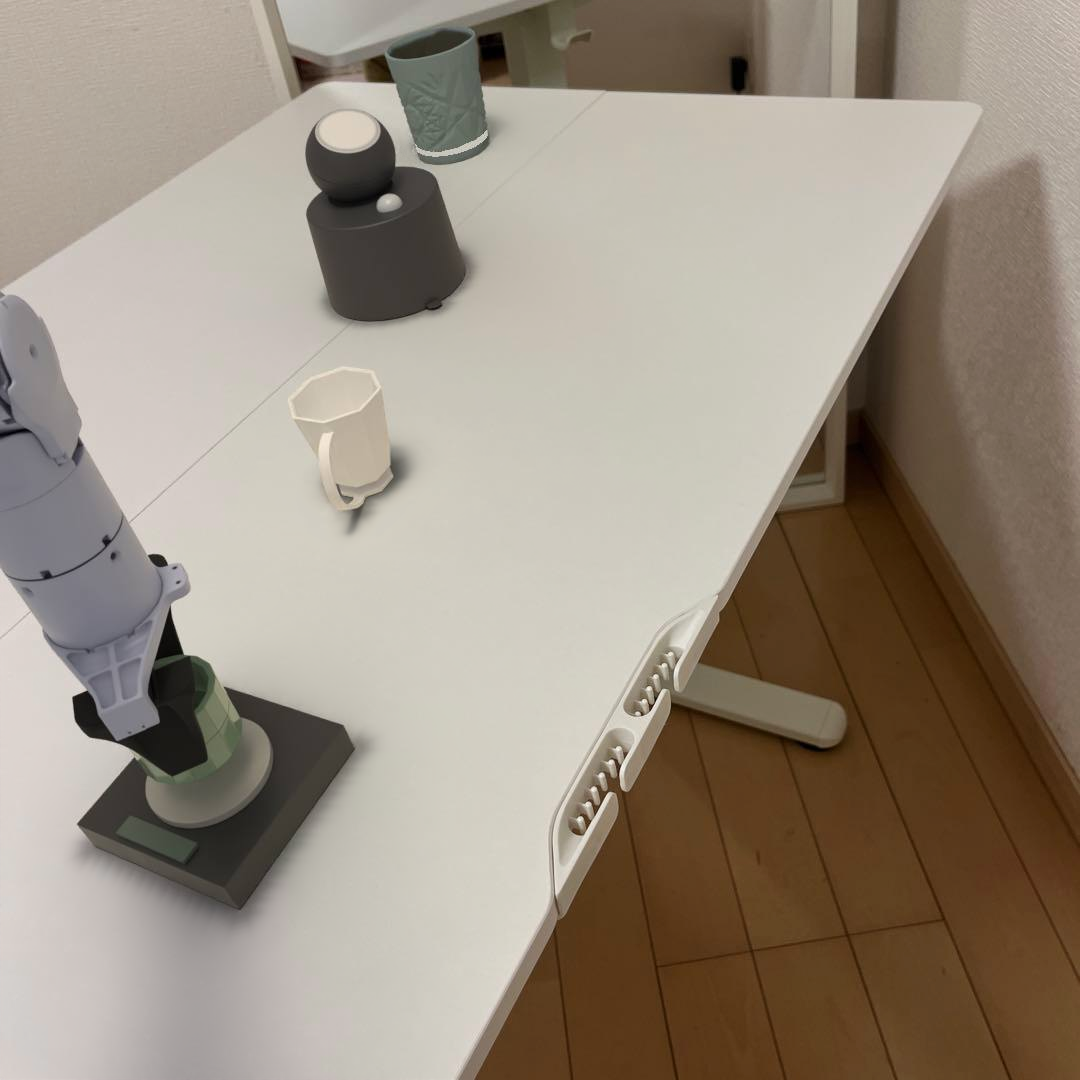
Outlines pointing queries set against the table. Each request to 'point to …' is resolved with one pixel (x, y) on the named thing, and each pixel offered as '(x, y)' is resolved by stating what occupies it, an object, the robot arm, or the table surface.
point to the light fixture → (377, 222)
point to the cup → (345, 432)
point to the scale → (224, 803)
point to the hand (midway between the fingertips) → (179, 723)
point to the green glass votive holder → (204, 724)
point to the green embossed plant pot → (440, 90)
